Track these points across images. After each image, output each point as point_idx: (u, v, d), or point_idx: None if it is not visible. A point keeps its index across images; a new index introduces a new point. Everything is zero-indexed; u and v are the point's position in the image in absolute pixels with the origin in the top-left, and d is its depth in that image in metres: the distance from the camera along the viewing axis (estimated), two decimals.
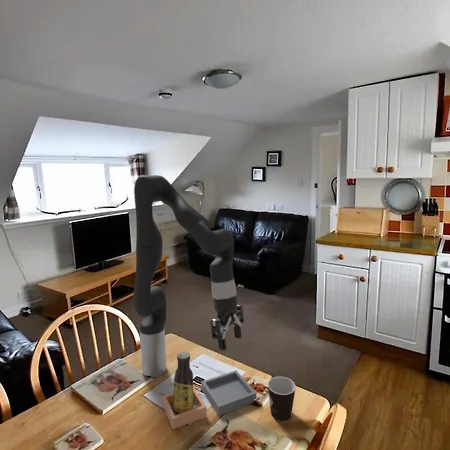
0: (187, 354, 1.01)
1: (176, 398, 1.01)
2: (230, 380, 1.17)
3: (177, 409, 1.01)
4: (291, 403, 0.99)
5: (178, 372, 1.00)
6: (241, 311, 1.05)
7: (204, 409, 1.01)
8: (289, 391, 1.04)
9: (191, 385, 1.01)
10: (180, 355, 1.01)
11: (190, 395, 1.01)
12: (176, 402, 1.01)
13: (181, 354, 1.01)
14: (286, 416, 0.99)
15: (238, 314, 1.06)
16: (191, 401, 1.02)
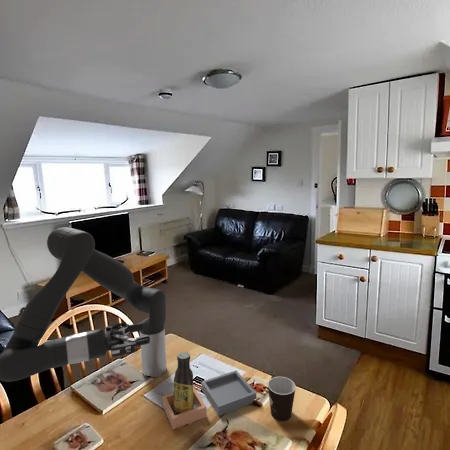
0: (187, 354, 1.01)
1: (176, 398, 1.01)
2: (230, 380, 1.17)
3: (177, 409, 1.01)
4: (291, 403, 0.99)
5: (178, 372, 1.00)
6: None
7: (204, 409, 1.01)
8: (289, 391, 1.04)
9: (191, 385, 1.01)
10: (180, 355, 1.01)
11: (190, 395, 1.01)
12: (176, 402, 1.01)
13: (181, 354, 1.01)
14: (286, 416, 0.99)
15: None
16: (191, 401, 1.02)
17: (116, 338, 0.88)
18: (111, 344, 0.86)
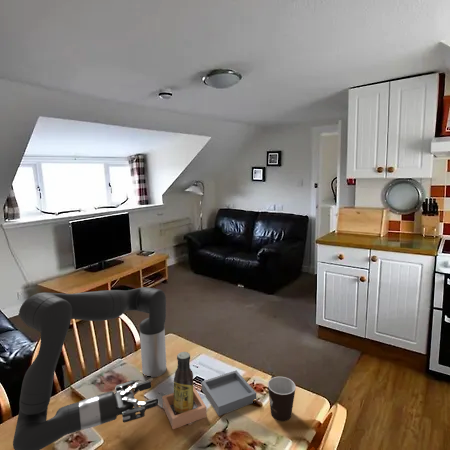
0: (187, 354, 1.01)
1: (176, 398, 1.01)
2: (230, 380, 1.17)
3: (177, 409, 1.01)
4: (291, 403, 0.99)
5: (178, 372, 1.00)
6: None
7: (204, 409, 1.01)
8: (289, 391, 1.04)
9: (191, 385, 1.01)
10: (180, 355, 1.01)
11: (190, 395, 1.01)
12: (176, 402, 1.01)
13: (181, 354, 1.01)
14: (286, 416, 0.99)
15: None
16: (191, 401, 1.02)
17: (126, 401, 0.92)
18: (122, 409, 0.90)
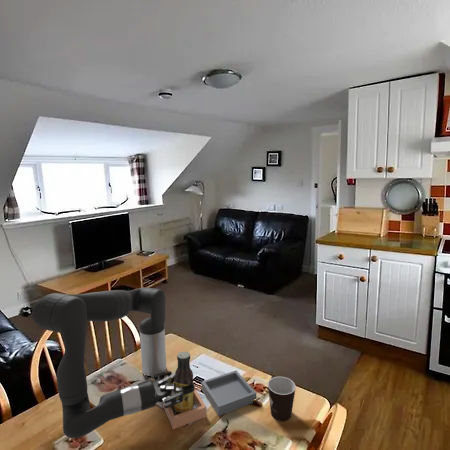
0: (187, 354, 1.01)
1: (176, 398, 1.01)
2: (230, 380, 1.17)
3: (177, 409, 1.01)
4: (291, 403, 0.99)
5: (178, 372, 1.00)
6: None
7: (204, 409, 1.01)
8: (289, 391, 1.04)
9: None
10: (180, 355, 1.01)
11: (190, 395, 1.01)
12: None
13: (181, 354, 1.01)
14: (286, 416, 0.99)
15: None
16: (191, 401, 1.02)
17: (165, 389, 0.97)
18: (161, 396, 0.95)
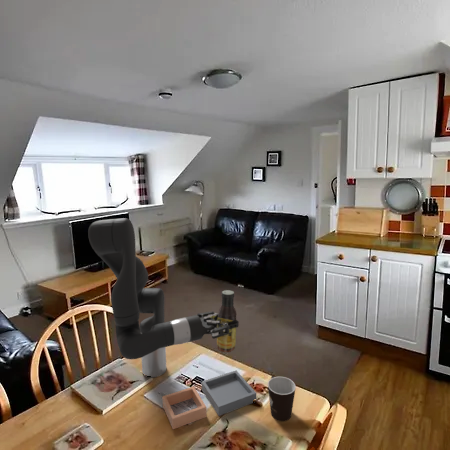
0: (231, 291, 1.05)
1: None
2: (230, 380, 1.17)
3: (221, 345, 1.05)
4: (291, 403, 0.99)
5: (223, 308, 1.04)
6: None
7: (204, 409, 1.01)
8: (289, 391, 1.04)
9: None
10: (224, 292, 1.04)
11: (234, 331, 1.05)
12: (221, 338, 1.05)
13: (226, 291, 1.05)
14: (286, 416, 0.99)
15: None
16: (234, 337, 1.06)
17: (211, 323, 1.01)
18: (208, 328, 0.99)
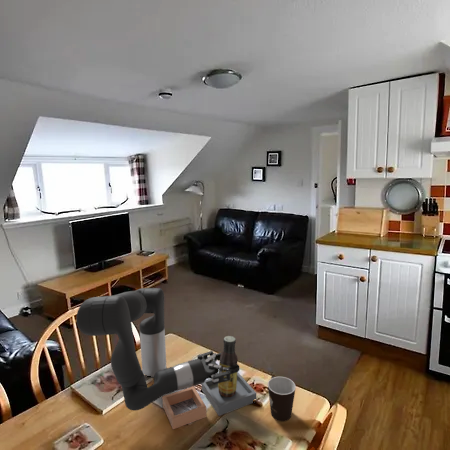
0: (233, 338, 1.08)
1: None
2: None
3: (222, 390, 1.08)
4: (291, 403, 0.99)
5: (224, 354, 1.07)
6: None
7: (204, 409, 1.01)
8: (289, 391, 1.04)
9: None
10: (226, 339, 1.07)
11: (235, 376, 1.08)
12: (222, 383, 1.08)
13: (227, 338, 1.08)
14: (286, 416, 0.99)
15: None
16: (235, 382, 1.09)
17: (212, 367, 1.04)
18: (210, 373, 1.02)
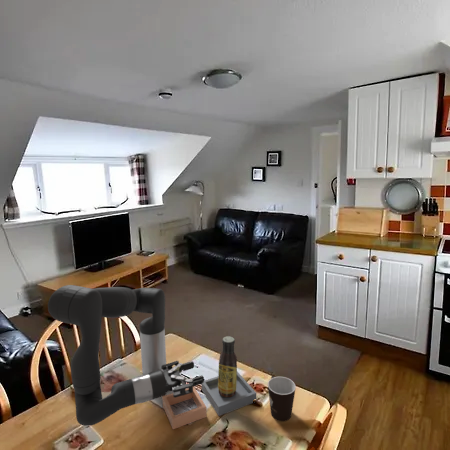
0: (232, 338, 1.08)
1: (221, 379, 1.07)
2: None
3: (222, 390, 1.08)
4: (291, 403, 0.99)
5: (224, 355, 1.07)
6: None
7: (204, 409, 1.01)
8: (289, 391, 1.04)
9: (235, 367, 1.08)
10: (225, 339, 1.07)
11: (234, 377, 1.08)
12: (222, 383, 1.08)
13: (226, 338, 1.08)
14: (286, 416, 0.99)
15: None
16: (235, 382, 1.09)
17: (175, 379, 0.98)
18: (171, 385, 0.96)
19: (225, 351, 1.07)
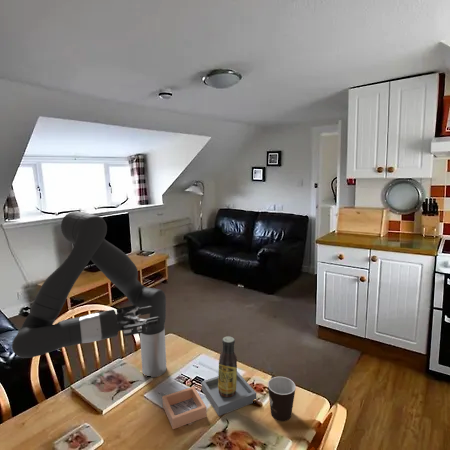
0: (232, 338, 1.08)
1: (221, 379, 1.07)
2: None
3: (222, 390, 1.08)
4: (291, 403, 0.99)
5: (224, 355, 1.07)
6: None
7: (204, 409, 1.01)
8: (289, 391, 1.04)
9: (235, 367, 1.08)
10: (225, 339, 1.07)
11: (234, 377, 1.08)
12: (222, 383, 1.08)
13: (226, 338, 1.08)
14: (286, 416, 0.99)
15: None
16: (235, 382, 1.09)
17: (127, 318, 0.91)
18: (123, 324, 0.89)
19: (225, 351, 1.07)
